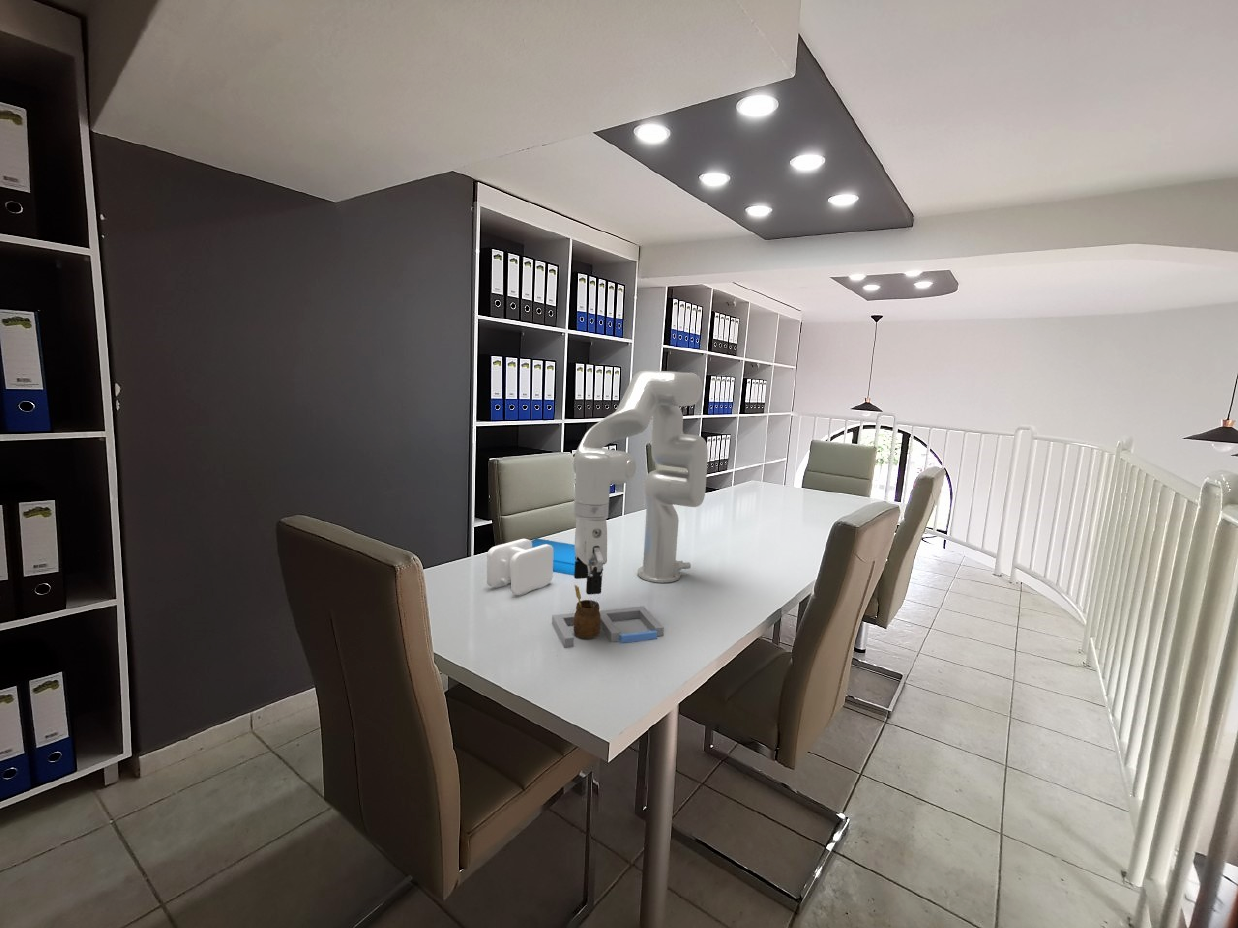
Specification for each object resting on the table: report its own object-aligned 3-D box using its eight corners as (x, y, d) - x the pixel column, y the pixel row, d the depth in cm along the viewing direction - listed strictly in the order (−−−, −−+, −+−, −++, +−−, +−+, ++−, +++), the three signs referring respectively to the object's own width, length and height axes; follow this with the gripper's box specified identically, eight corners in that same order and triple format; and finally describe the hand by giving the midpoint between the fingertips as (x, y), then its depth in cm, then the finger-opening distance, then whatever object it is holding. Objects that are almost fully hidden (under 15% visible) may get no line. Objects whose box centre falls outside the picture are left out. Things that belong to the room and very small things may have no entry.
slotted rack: (643, 613, 137) (644, 606, 137) (665, 637, 125) (665, 629, 125) (552, 623, 129) (552, 615, 129) (565, 649, 117) (565, 640, 117)
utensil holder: (605, 635, 124) (607, 584, 123) (581, 642, 121) (583, 590, 119) (590, 625, 129) (593, 576, 127) (567, 631, 126) (569, 581, 124)
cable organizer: (512, 600, 141) (513, 556, 140) (485, 589, 148) (485, 547, 146) (553, 584, 153) (554, 543, 152) (526, 574, 160) (527, 535, 158)
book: (535, 538, 184) (605, 548, 175) (535, 550, 184) (605, 561, 176) (508, 552, 168) (583, 564, 159) (507, 566, 168) (583, 578, 160)
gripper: (620, 519, 114) (616, 599, 116) (596, 501, 130) (592, 571, 132) (585, 519, 111) (581, 601, 113) (564, 501, 127) (561, 573, 130)
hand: (587, 585), depth 123 cm, fingers open, 9 cm apart
